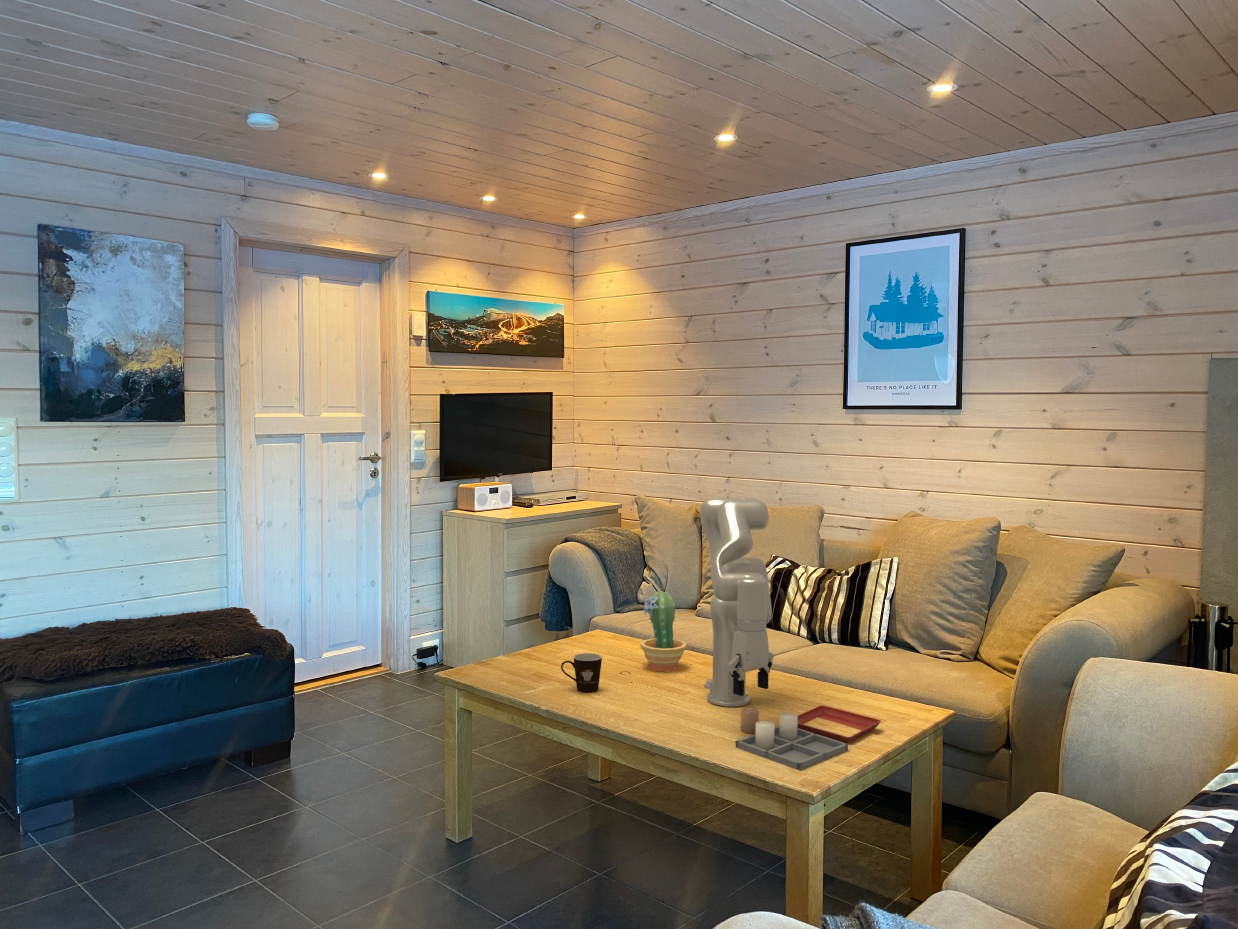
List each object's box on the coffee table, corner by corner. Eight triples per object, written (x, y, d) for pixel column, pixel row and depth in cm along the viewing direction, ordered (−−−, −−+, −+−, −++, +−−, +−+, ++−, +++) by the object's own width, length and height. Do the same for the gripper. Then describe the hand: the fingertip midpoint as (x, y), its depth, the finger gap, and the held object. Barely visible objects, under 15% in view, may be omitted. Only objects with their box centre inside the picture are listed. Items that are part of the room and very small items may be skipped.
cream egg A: (751, 747, 226) (751, 723, 225) (763, 743, 229) (763, 719, 228) (766, 752, 222) (766, 728, 222) (777, 748, 225) (778, 724, 225)
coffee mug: (606, 687, 277) (606, 655, 276) (594, 695, 269) (594, 662, 268) (572, 682, 282) (572, 650, 281) (559, 690, 274) (559, 657, 273)
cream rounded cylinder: (775, 738, 232) (775, 715, 231) (786, 734, 235) (786, 711, 235) (789, 743, 228) (790, 720, 228) (800, 739, 231) (801, 716, 231)
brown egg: (736, 733, 238) (737, 711, 237) (748, 729, 241) (748, 707, 240) (750, 738, 234) (751, 715, 234) (762, 734, 237) (762, 711, 237)
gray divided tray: (735, 750, 226) (735, 741, 226) (784, 732, 239) (784, 723, 239) (799, 773, 211) (799, 763, 211) (847, 753, 224) (847, 744, 224)
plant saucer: (882, 731, 241) (882, 719, 241) (849, 749, 228) (849, 736, 228) (820, 716, 253) (821, 704, 253) (786, 732, 240) (786, 720, 240)
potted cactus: (640, 661, 307) (640, 587, 306) (686, 661, 307) (687, 588, 305) (639, 673, 292) (640, 596, 291) (687, 674, 291) (688, 597, 290)
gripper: (761, 619, 244) (760, 682, 245) (718, 627, 233) (717, 694, 233) (784, 623, 239) (783, 688, 239) (740, 632, 227) (740, 700, 228)
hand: (750, 691), depth 236 cm, fingers open, 9 cm apart
